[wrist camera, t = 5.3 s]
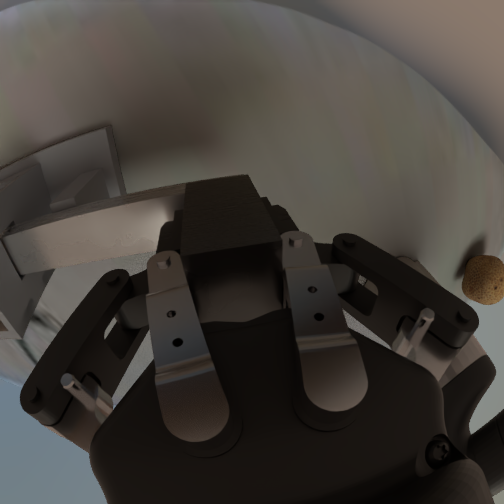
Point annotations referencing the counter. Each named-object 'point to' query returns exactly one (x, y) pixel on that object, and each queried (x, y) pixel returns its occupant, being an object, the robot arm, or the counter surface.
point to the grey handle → (192, 242)
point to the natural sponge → (484, 279)
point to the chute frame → (50, 208)
